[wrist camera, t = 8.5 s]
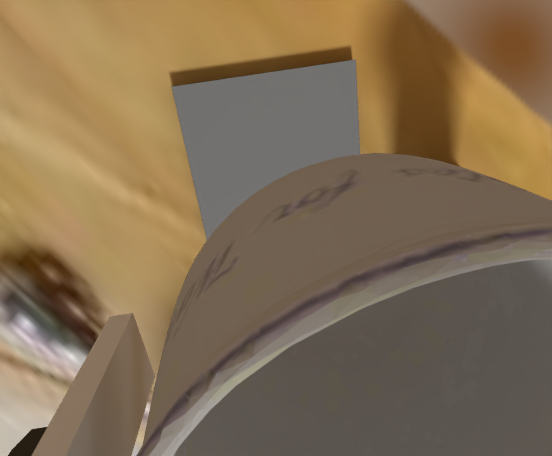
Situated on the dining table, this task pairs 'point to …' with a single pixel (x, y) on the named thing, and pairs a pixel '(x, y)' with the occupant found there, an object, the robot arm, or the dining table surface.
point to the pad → (264, 130)
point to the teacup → (365, 319)
